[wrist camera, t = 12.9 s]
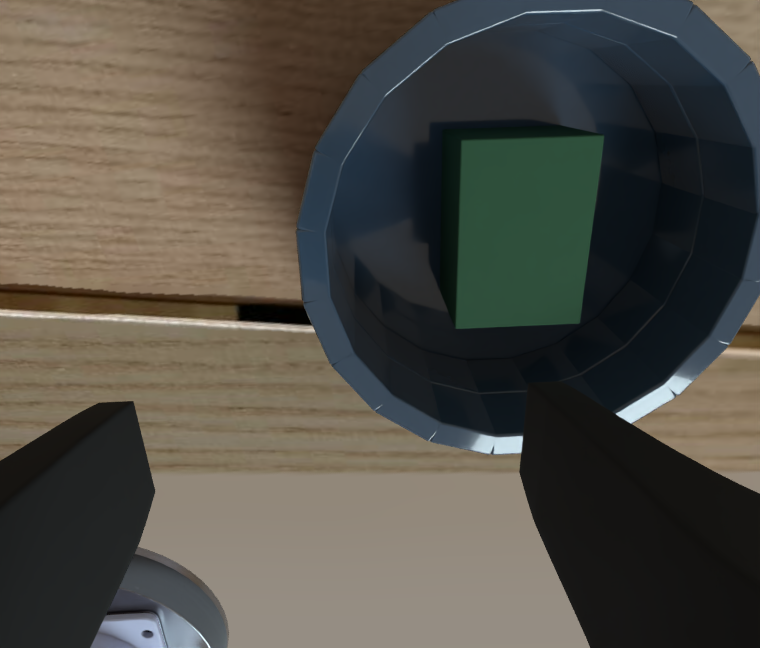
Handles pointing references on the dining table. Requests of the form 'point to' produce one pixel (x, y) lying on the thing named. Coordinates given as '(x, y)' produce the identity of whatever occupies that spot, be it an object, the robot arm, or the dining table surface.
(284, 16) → the dining table surface
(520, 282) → the green rectangular block
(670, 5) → the basin
